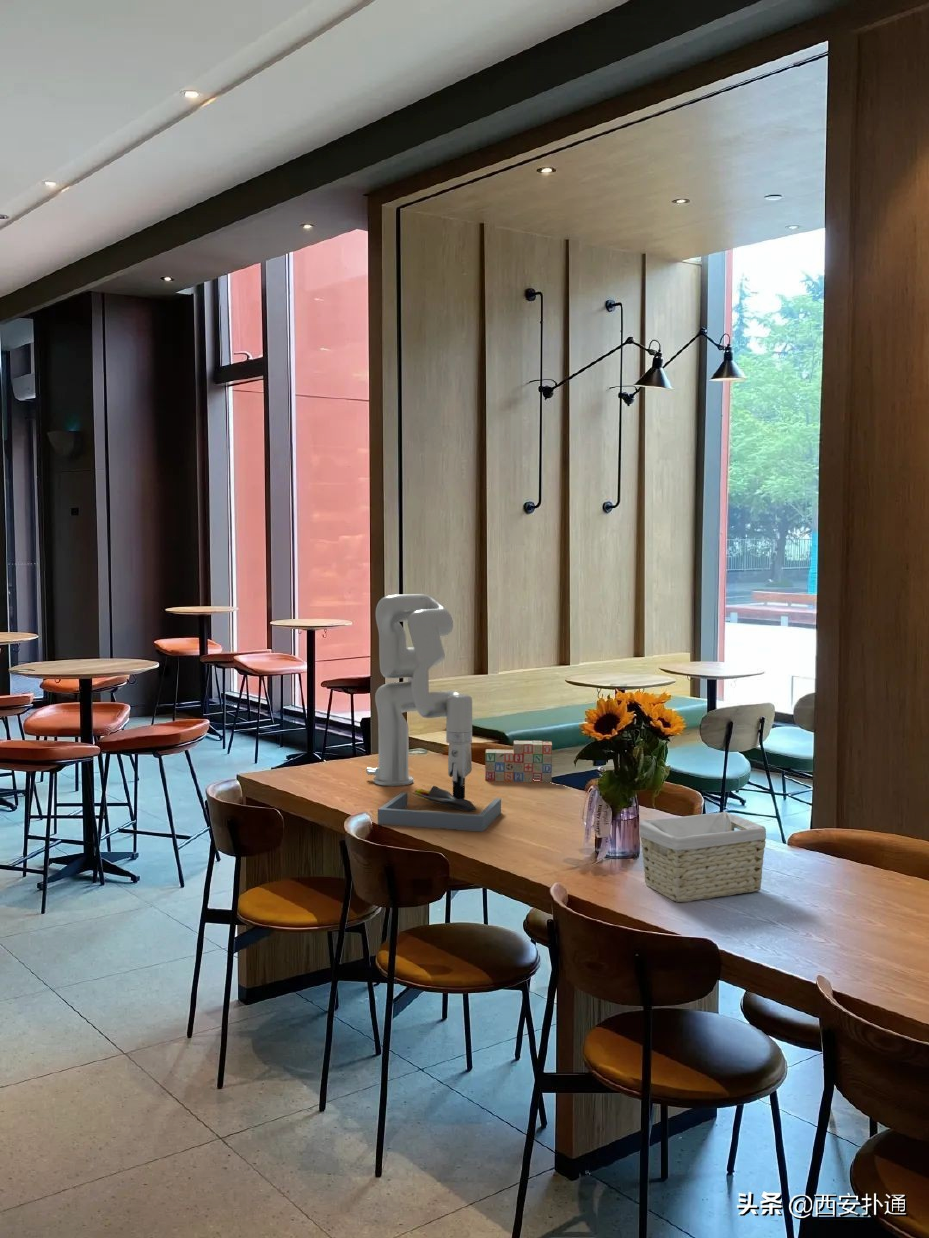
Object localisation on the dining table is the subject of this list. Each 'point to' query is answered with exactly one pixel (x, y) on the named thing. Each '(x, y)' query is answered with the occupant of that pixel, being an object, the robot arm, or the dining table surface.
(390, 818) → the u-shaped frame
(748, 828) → the storage basket
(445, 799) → the toy plane
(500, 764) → the stack of blocks
